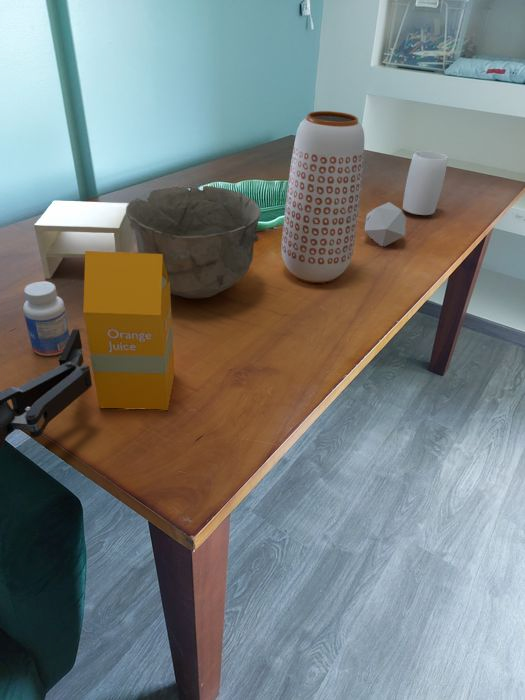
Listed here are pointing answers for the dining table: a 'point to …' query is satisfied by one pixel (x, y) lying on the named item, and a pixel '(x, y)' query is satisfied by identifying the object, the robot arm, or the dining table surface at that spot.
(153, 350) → the orange juice
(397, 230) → the die
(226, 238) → the bowl
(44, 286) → the pill bottle
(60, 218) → the shelf
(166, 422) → the dining table surface
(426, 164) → the cup
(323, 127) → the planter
